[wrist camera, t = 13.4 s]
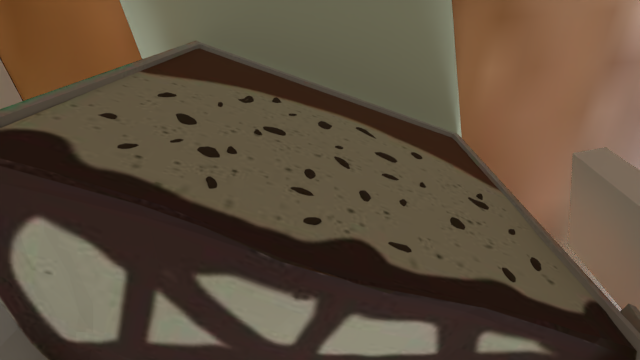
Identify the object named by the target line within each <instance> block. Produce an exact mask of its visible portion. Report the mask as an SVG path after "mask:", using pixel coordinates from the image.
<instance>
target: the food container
mask: <svg viewBox="0 0 640 360" xmlns="http://www.w3.org/2000/svg"><path fill="white" fill-rule="evenodd" d="M0 360H640V311H639V310H638V309H637V307H636V306H633V305H631V304H627V305H626V306H625V307H624V308H623V309H622V310H621V311H619V310H618V309H617V308H616V307H615V306H614V305H613V304H612V302H611V301H610V300H609V299H608V298H607V297H606V296H605V295H604V294H603V293H602V292H601V290H600V289H599V288H598V287H597V286H596V285H595V284H594V283H593V282H592V281H591V279H590V278H589V277H588V276H587V275H586V274H585V273H584V272H583V271H582V270H581V269H580V267H579V266H578V265H577V264H576V263H575V262H574V261H573V260H572V259H571V258H570V256H569V255H568V254H567V253H566V252H565V251H564V250H563V249H562V248H561V247H560V246H559V244H558V243H557V242H556V241H555V240H554V239H553V238H552V237H551V236H550V235H549V233H548V232H547V231H546V230H545V229H544V228H543V227H542V226H541V225H540V224H539V222H538V221H537V220H536V219H535V218H534V217H533V216H532V215H531V214H530V213H529V212H528V210H527V209H526V208H525V207H524V206H523V205H522V204H521V203H520V202H519V201H518V199H517V198H516V197H515V196H514V195H513V194H512V193H511V192H510V191H509V190H508V189H507V187H506V186H505V185H504V184H503V183H502V182H501V181H500V180H499V179H498V178H497V176H496V175H495V174H494V173H493V172H492V171H491V170H490V169H489V168H488V167H487V166H486V164H485V163H484V162H483V161H482V160H481V159H480V158H479V157H478V156H477V155H476V153H475V152H474V151H473V150H472V149H471V148H470V147H469V146H468V145H467V144H466V143H465V141H464V140H463V139H462V138H461V137H460V136H459V135H458V134H457V133H454V132H451V131H448V130H446V129H443V128H440V127H437V126H434V125H432V124H429V123H426V122H423V121H420V120H417V119H415V118H412V117H409V116H406V115H403V114H401V113H398V112H395V111H392V110H389V109H387V108H384V107H381V106H378V105H375V104H373V103H370V102H367V101H364V100H361V99H358V98H356V97H353V96H350V95H347V94H344V93H342V92H339V91H336V90H333V89H330V88H328V87H325V86H322V85H319V84H316V83H313V82H311V81H308V80H305V79H302V78H299V77H297V76H294V75H291V74H288V73H285V72H283V71H280V70H277V69H274V68H271V67H269V66H266V65H263V64H260V63H257V62H254V61H252V60H249V59H246V58H243V57H240V56H238V55H235V54H232V53H229V52H226V51H224V50H221V49H218V48H215V47H212V46H209V45H207V44H204V43H201V42H198V41H193V42H190V43H187V44H184V45H182V46H179V47H176V48H173V49H170V50H167V51H164V52H162V53H159V54H156V55H153V56H150V57H147V58H145V59H142V60H139V61H136V62H133V63H130V64H128V65H125V66H122V67H119V68H116V69H113V70H110V71H108V72H105V73H102V74H99V75H96V76H93V77H91V78H88V79H85V80H82V81H79V82H76V83H73V84H71V85H68V86H65V87H62V88H59V89H56V90H54V91H51V92H48V93H45V94H42V95H39V96H36V97H34V98H31V99H28V100H25V101H22V102H19V103H17V104H14V105H11V106H8V107H5V108H2V109H0Z"/></svg>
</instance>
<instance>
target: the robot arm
mask: <svg viewBox="0 0 640 360" xmlns="http://www.w3.org/2000/svg"><path fill="white" fill-rule="evenodd" d="M568 245H569V246H570V248H571V249H572V250H573V251H574V252H575V254H576V255H577V256H578V257H579V258H580V260H581V261H582V262H583V263H584V264H585V265H586V267H587V268H588V269H589V270H590V271H591V273H592V274H593V275H594V276H595V277H596V279H597V280H598V281H599V282H600V283H601V285H602V286H603V287H604V288H605V289H606V291H607V292H608V293H609V294H610V295H611V297H612V298H613V299H614V300H615V301H616V303H617V304H618V305H619V306H620V307H621V309H623V308H624V307H625V306H626V305H627V304H631V305H633V306H636V307H637V309H638V310H639V311H640V170H638V169H637V168H635V167H634V166H632V165H631V164H629V163H628V162H626V161H625V160H623V159H622V158H621V157H619V156H618V155H616V154H615V153H613V152H612V151H610V150H609V149H607V148H606V147H605V148H600V149H594V150H588V151H583V152H577V153H573V159H572V178H571V198H570V218H569V237H568Z"/></svg>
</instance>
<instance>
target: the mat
mask: <svg viewBox="0 0 640 360" xmlns="http://www.w3.org/2000/svg"><path fill="white" fill-rule="evenodd" d="M120 3H121V5H122V8H123V10H124V13H125V16H126V18H127V21H128V23H129V26H130V28H131V31H132V34H133V36H134V39H135V41H136V44H137V46H138V49H139V52H140V54H141V57H142V59H145V58H147V57H150V56H153V55H156V54H159V53H162V52H164V51H167V50H170V49H173V48H176V47H179V46H182V45H184V44H187V43H190V42H193V41H198V42H201V43H204V44H207V45H209V46H212V47H215V48H218V49H221V50H224V51H226V52H229V53H232V54H235V55H238V56H240V57H243V58H246V59H249V60H252V61H254V62H257V63H260V64H263V65H266V66H269V67H271V68H274V69H277V70H280V71H283V72H285V73H288V74H291V75H294V76H297V77H299V78H302V79H305V80H308V81H311V82H313V83H316V84H319V85H322V86H325V87H328V88H330V89H333V90H336V91H339V92H342V93H344V94H347V95H350V96H353V97H356V98H358V99H361V100H364V101H367V102H370V103H373V104H375V105H378V106H381V107H384V108H387V109H389V110H392V111H395V112H398V113H401V114H403V115H406V116H409V117H412V118H415V119H417V120H420V121H423V122H426V123H429V124H432V125H434V126H437V127H440V128H443V129H446V130H448V131H451V132H454V133H457V134H458V135H459V136H460V137H461V123H460V109H459V96H458V82H457V68H456V54H455V40H454V26H453V12H452V0H120ZM461 138H462V137H461Z"/></svg>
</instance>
